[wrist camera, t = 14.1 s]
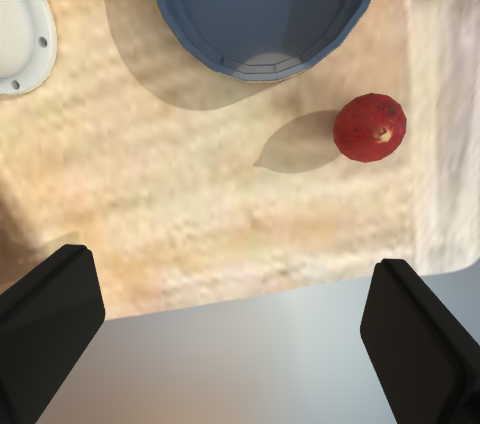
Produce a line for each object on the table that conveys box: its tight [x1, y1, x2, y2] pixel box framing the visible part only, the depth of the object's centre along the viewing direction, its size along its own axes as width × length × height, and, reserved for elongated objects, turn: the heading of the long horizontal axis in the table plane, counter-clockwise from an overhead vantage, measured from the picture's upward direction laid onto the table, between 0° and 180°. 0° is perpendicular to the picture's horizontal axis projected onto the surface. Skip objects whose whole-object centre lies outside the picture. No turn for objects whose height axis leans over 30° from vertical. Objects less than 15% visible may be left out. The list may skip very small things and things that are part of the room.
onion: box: [333, 93, 407, 163], centre depth 25 cm, size 6×6×8 cm
